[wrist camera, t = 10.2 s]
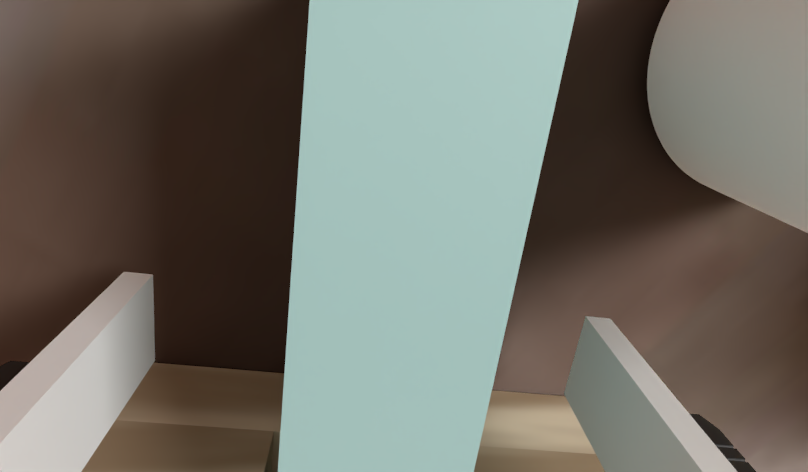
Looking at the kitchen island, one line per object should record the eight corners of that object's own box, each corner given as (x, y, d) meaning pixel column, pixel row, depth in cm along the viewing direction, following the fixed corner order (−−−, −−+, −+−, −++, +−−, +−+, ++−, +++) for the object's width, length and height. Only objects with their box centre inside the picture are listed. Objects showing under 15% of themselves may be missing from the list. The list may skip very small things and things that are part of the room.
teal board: (349, -51, 15) (321, -159, 6) (475, -32, 15) (602, -110, 7) (300, 509, 22) (254, 812, 13) (388, 514, 22) (397, 813, 14)
